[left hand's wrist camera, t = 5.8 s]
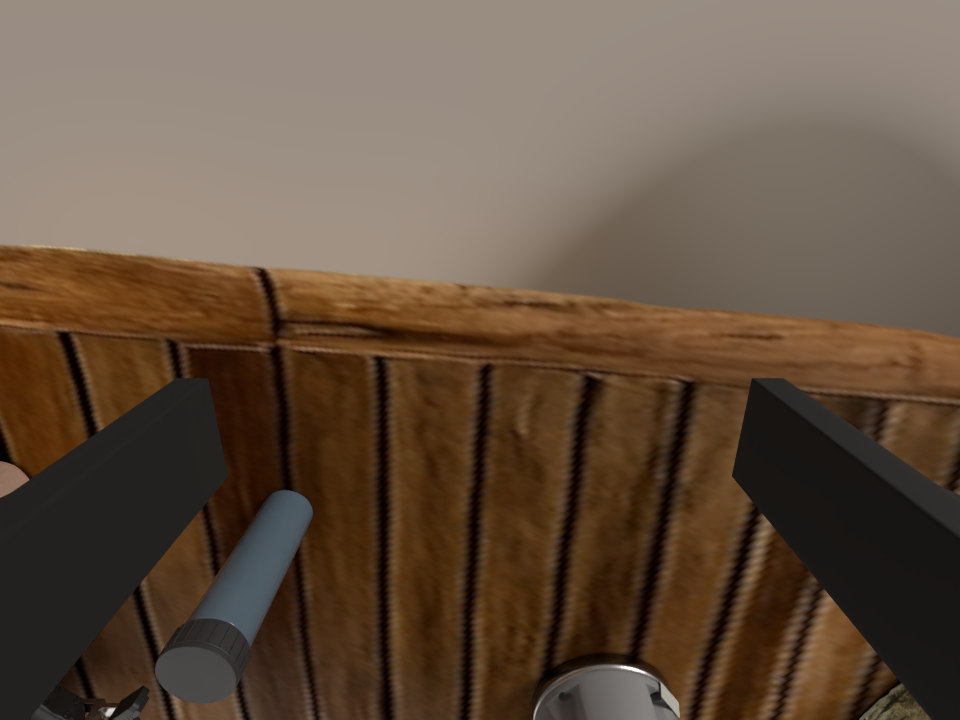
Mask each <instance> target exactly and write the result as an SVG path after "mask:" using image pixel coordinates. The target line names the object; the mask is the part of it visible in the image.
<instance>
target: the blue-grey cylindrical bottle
mask: <svg viewBox="0 0 960 720" xmlns="http://www.w3.org/2000/svg"><path fill="white" fill-rule="evenodd" d="M312 517H313V510H312V506H311V504H310V503H309V501H308V500H307V499H306V498H305V497H304V496H302V495H301V494H299V493H297V492H294V491H289V490H281V491H277V492H274V493H272V494H271V495H269V496H268V497H267V498H266V500H265V501H264V503H263V505H262V506H261V508H260V509H259V511H258V512H257V514H256V515H255V517H254V518H253V520H252V522H251V523H250V525H249V526H248V528H247V529H246V531H245V532H244V534H243V535H242V537H241V539H240V540H239V542H238V543H237V545H236V546H235V548H234V549H233V551H232V552H231V554H230V556H229V557H228V559H227V560H226V562H225V563H224V565H223V566H222V568H221V569H220V571H219V573H218V574H217V576H216V577H215V579H214V580H213V582H212V583H211V585H210V586H209V588H208V590H207V591H206V593H205V594H204V596H203V597H202V599H201V600H200V602H199V603H198V605H197V607H196V608H195V610H194V611H193V613H192V614H191V616H190V617H189V619H188V620H187V622H189V621H192V620H196V619H215V620H220V621H223V622H225V623H228V624H230V625H232V626H233V627H235V628H236V629H238V630H239V631H240V632H241V633H242V634H243V635H244V636H245V638H246V639H247V641H248V643H249V647H251V645H252V643H253V641H254V639H255V637H256V635H257V633H258V631H259V629H260V626H261V624H262V622H263V620H264V618H265V616H266V614H267V612H268V610H269V608H270V606H271V604H272V601H273V599H274V597H275V595H276V593H277V591H278V589H279V587H280V585H281V583H282V581H283V578H284V576H285V574H286V572H287V570H288V568H289V566H290V564H291V562H292V560H293V558H294V556H295V553H296V551H297V549H298V547H299V545H300V543H301V541H302V539H303V537H304V535H305V533H306V531H307V528H308V526H309V524H310V522H311V520H312Z"/></svg>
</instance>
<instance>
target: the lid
mask: <svg viewBox="0 0 960 720" xmlns="http://www.w3.org/2000/svg"><path fill="white" fill-rule="evenodd" d="M250 650H251V649H250V647H249V643H248V641H247V639H246V638H245V636H244V635H243V634H242V633H241V632H240V631H239V630H238V629H236V628H235V627H233V626H232V625H230V624H228V623H225V622H223V621H220V620H215V619H196V620H192V621H189V622H186V623H185V624H183V625H182V626H181V627H180V628H179V627H178V628H177V630H176V631H175V633H174V634H173V635H172V637H171V638H170V640H169V641H168V643H167V644H166V646H165V647H164V649H163V650H162V652H161V654H160V655H159V656H160V657H159V659H158V660H157V662H156V666H155V673H156V677H157V679H158V681H159V683H160V684H161V685H162V687H163V688H164V689H165V690H166V691H168V692H169V693H170V694H172V695H174V696H175V697H177V698H179V699H182V700H185V701H188V702H192V703H201V704H206V703H214V702H218V701H221V700H223V699H225V698H226V697H228V696H229V695H230V694H231V693H232V692H233V690H234V689H235V687H236V686H237V685H238V682H239V680H240V679H241V676H242V674H243V672H244V670H245V668H246V666H247V664H248V662H249V659H250V657H249V656H250Z"/></svg>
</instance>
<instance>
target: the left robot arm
mask: <svg viewBox="0 0 960 720" xmlns="http://www.w3.org/2000/svg"><path fill="white" fill-rule="evenodd" d="M227 477H228V473H227V469H226V464H225V459H224V454H223V449H222V444H221V439H220V434H219V430H218V425H217V420H216V415H215V410H214V405H213V400H212V395H211V391H210V386H209V381H208V378H176V379H175V380H173V381H172V382H170V383H169V384H168V385H166V386H165V387H163V388H162V389H160V390H159V391H157V392H156V393H154V394H153V395H152V396H150V397H149V398H147V399H146V400H144V401H143V402H141V403H140V404H139V405H137V406H136V407H134V408H133V409H131V410H130V411H128V412H127V413H126V414H124V415H123V416H121V417H120V418H118V419H117V420H115V421H114V422H113V423H111V424H110V425H108V426H107V427H105V428H104V429H102V430H101V431H99V432H98V433H97V434H95V435H94V436H92V437H91V438H89V439H88V440H86V441H85V442H84V443H82V444H81V445H79V446H78V447H76V448H75V449H73V450H72V451H71V452H69V453H68V454H66V455H65V456H63V457H62V458H60V459H59V460H58V461H56V462H55V463H53V464H52V465H50V466H49V467H47V468H46V469H45V470H43V471H42V472H40V473H39V474H37V475H36V476H34V477H33V478H31V479H30V480H29V481H27V482H26V483H24V484H23V485H21V486H20V487H18V488H17V489H16V490H14V491H13V492H11V493H9V494H7V495H5V496H3V497H1V498H0V720H29V718H30V717H31V716H32V715H33V714H34V712H35V711H36V710H37V709H38V707H39V706H40V705H41V704H42V703H43V701H44V700H45V699H46V698H47V697H48V695H49V694H50V693H51V692H52V690H53V689H54V688H55V687H56V686H57V684H58V683H59V682H60V681H61V679H62V678H63V677H64V676H65V675H66V673H67V672H68V671H69V670H70V668H71V667H72V666H73V665H74V664H75V662H76V661H77V660H78V659H79V657H80V656H81V655H82V654H83V653H84V651H85V650H86V649H87V648H88V646H89V645H90V644H91V643H92V642H93V640H94V639H95V638H96V637H97V635H98V634H99V633H100V632H101V631H102V629H103V628H104V627H105V626H106V624H107V623H108V622H109V621H110V620H111V618H112V617H113V616H114V615H115V613H116V612H117V611H118V610H119V609H120V607H121V606H122V605H123V604H124V603H125V601H126V600H127V599H128V598H129V596H130V595H131V594H132V593H133V592H134V590H135V589H136V588H137V587H138V585H139V584H140V583H141V582H142V581H143V579H144V578H145V577H146V576H147V574H148V573H149V572H150V571H151V570H152V568H153V567H154V566H155V565H156V563H157V562H158V561H159V560H160V559H161V557H162V556H163V555H164V554H165V552H166V551H167V550H168V549H169V548H170V546H171V545H172V544H173V543H174V541H175V540H176V539H177V538H178V537H179V535H180V534H181V533H182V532H183V530H184V529H185V528H186V527H187V526H188V524H189V523H190V522H191V521H192V520H193V518H194V517H195V516H196V515H197V513H198V512H199V511H200V510H201V509H202V507H203V506H204V505H205V504H206V502H207V501H208V500H209V499H210V498H211V496H212V495H213V494H214V493H215V491H216V490H217V489H218V488H219V487H220V485H221V484H222V483H223V482H224V480H225V479H226V478H227ZM732 477H733V478H734V479H735V480H736V482H737V483H738V484H739V485H740V487H741V488H742V489H743V490H744V491H745V493H746V494H747V495H748V496H749V498H750V499H751V500H752V501H753V502H754V504H755V505H756V506H757V507H758V509H759V510H760V511H761V512H762V513H763V515H764V516H765V517H766V518H767V520H768V521H769V522H770V523H771V524H772V526H773V527H774V528H775V529H776V530H777V532H778V533H779V534H780V535H781V537H782V538H783V539H784V540H785V541H786V543H787V544H788V545H789V546H790V548H791V549H792V550H793V551H794V552H795V554H796V555H797V556H798V557H799V559H800V560H801V561H802V562H803V563H804V565H805V566H806V567H807V568H808V570H809V571H810V572H811V573H812V574H813V576H814V577H815V578H816V579H817V581H818V582H819V583H820V584H821V585H822V587H823V588H824V589H825V590H826V592H827V593H828V594H829V595H830V596H831V598H832V599H833V600H834V601H835V603H836V604H837V605H838V606H839V607H840V609H841V610H842V611H843V612H844V613H845V615H846V616H847V617H848V618H849V620H850V621H851V622H852V623H853V624H854V626H855V627H856V628H857V629H858V631H859V632H860V633H861V634H862V635H863V637H864V638H865V639H866V640H867V642H868V643H869V644H870V645H871V646H872V648H873V649H874V650H875V651H876V653H877V654H878V655H879V656H880V657H881V659H882V660H883V661H884V662H885V664H886V665H887V666H888V667H889V668H890V670H891V671H892V672H893V673H894V675H895V676H896V677H897V678H898V679H899V681H900V682H901V683H902V684H903V686H904V687H905V688H906V689H907V690H908V692H909V693H910V694H911V695H912V697H913V698H914V699H915V700H916V701H917V703H918V704H919V705H920V706H921V707H922V709H923V710H924V711H925V712H926V714H927V715H928V716H929V717H930V718H931V720H960V495H958V494H956V493H954V492H951V491H949V490H947V489H945V488H943V487H941V486H939V485H937V484H936V483H934V482H933V481H931V480H930V479H929V478H927V477H926V476H924V475H923V474H921V473H920V472H918V471H917V470H915V469H914V468H913V467H911V466H910V465H908V464H907V463H905V462H904V461H902V460H901V459H900V458H898V457H897V456H895V455H894V454H892V453H891V452H889V451H888V450H887V449H885V448H884V447H882V446H881V445H879V444H878V443H876V442H875V441H874V440H872V439H871V438H869V437H868V436H866V435H865V434H863V433H862V432H861V431H859V430H858V429H856V428H855V427H853V426H852V425H850V424H849V423H847V422H846V421H845V420H843V419H842V418H840V417H839V416H837V415H836V414H834V413H833V412H832V411H830V410H829V409H827V408H826V407H824V406H823V405H821V404H820V403H819V402H817V401H816V400H814V399H813V398H811V397H810V396H808V395H807V394H806V393H804V392H803V391H801V390H800V389H798V388H797V387H795V386H794V385H792V384H791V383H790V382H788V381H787V380H785V379H784V378H752V381H751V386H750V391H749V395H748V400H747V405H746V410H745V415H744V420H743V425H742V430H741V434H740V439H739V444H738V449H737V454H736V459H735V464H734V469H733V473H732ZM532 714H533V720H677V715H678V717H679V718H680V714H679V702H678V701H677V700H676V699H675V698H674V697H673V695H672V693H671V691H670V688H669V685H668V683H667V681H666V680H665V678H664V677H663V676H662V674H661V673H660V672H659V671H658V670H656V669H655V668H654V667H652V666H651V665H649V664H648V663H646V662H644V661H641V660H639V659H636V658H633V657H629V656H624V655H617V654H597V655H590V656H585V657H581V658H578V659H575V660H572V661H569V662H567V663H565V664H563V665H561V666H559V667H558V668H556V669H555V670H553V671H552V672H551V673H549V674H548V675H547V676H546V677H545V678H544V679H543V680H542V681H541V683H540V684H539V686H538V687H537V689H536V691H535V693H534V696H533V700H532Z"/></svg>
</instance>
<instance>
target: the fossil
mask: <svg viewBox="0 0 960 720" xmlns="http://www.w3.org/2000/svg"><path fill="white" fill-rule="evenodd" d="M859 720H931V718H930V717H929V716H928V715H927V714H926V712H925V711H924V710H923V709H922V707H921V706H920V705H919V704H918V703H917V701H916V700H915V699H914V698H913V697H912V695H911V694H910V693H909V692H908V690H907V689H906V688H905V687H904V686H903V684H902V683H901V684H899V685H898V686H897V687H895V688H893V689H892V690H891V691H890V693H889V694H888V695H886V696H885V697H883V698H881V699H880V700H879V701H877V702H876V703H875V704H874V705H873V706H872V707H871V708H870V709H869V710H868V711H867V712H866V713H865V714H864V715H863V716H862V717H861V718H860V719H859Z"/></svg>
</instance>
